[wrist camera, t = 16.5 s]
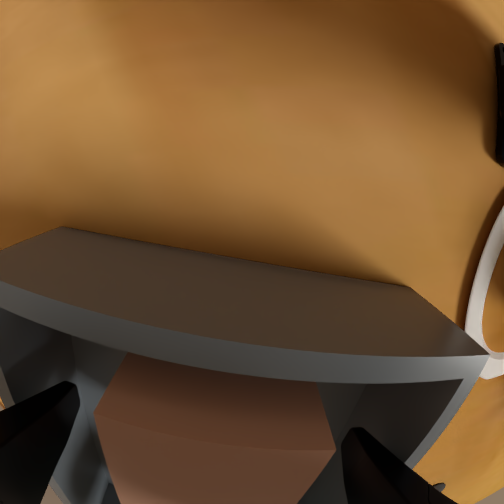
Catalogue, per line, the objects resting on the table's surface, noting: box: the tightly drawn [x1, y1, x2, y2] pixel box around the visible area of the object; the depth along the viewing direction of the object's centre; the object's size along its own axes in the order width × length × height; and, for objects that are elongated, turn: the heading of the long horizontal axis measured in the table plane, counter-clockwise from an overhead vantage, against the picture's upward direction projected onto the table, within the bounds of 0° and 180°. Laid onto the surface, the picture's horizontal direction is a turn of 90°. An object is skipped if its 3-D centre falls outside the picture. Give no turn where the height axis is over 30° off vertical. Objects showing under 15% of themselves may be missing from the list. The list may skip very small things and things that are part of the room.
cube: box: [93, 352, 336, 504], centre depth 8 cm, size 5×5×5 cm
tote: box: [0, 227, 490, 504], centre depth 9 cm, size 13×17×5 cm
